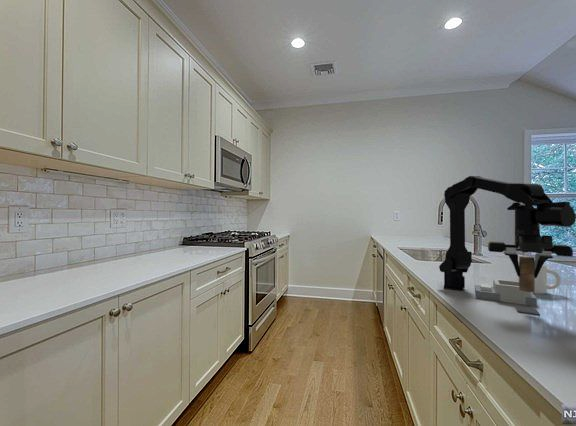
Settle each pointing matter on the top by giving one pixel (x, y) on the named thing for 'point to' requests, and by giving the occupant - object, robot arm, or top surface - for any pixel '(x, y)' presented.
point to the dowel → (527, 273)
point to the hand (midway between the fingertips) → (526, 277)
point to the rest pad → (527, 310)
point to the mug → (545, 280)
